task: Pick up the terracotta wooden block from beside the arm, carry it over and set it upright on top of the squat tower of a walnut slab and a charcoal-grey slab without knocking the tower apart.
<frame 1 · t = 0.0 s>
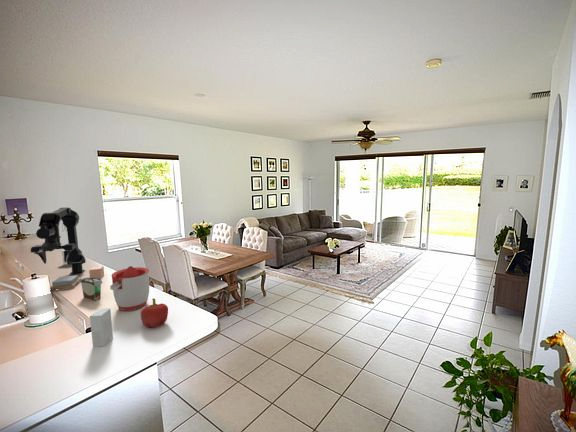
hand: (55, 262, 154), 15 cm above the counter, tool pointing down, fingers open, 9 cm apart
terracotta block: (97, 277, 174), on the counter
walnut slab: (66, 287, 159), on the counter, touching grey slab
citrus juicer: (131, 307, 133), on the counter
small box: (71, 264, 202), on the counter
vegetable: (155, 324, 117), on the counter
grey slab: (65, 282, 159), point 2 cm above the counter, touching walnut slab
skincare box: (102, 342, 104), on the counter
food container: (95, 297, 143), on the counter
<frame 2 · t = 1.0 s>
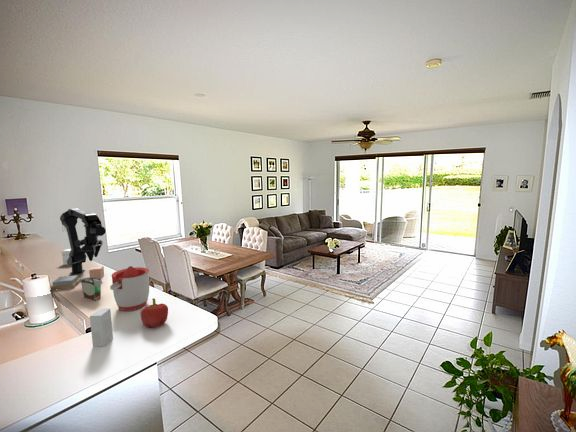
hand: (93, 258, 172), 12 cm above the counter, tool pointing down, fingers open, 9 cm apart
nothing on the counter moved.
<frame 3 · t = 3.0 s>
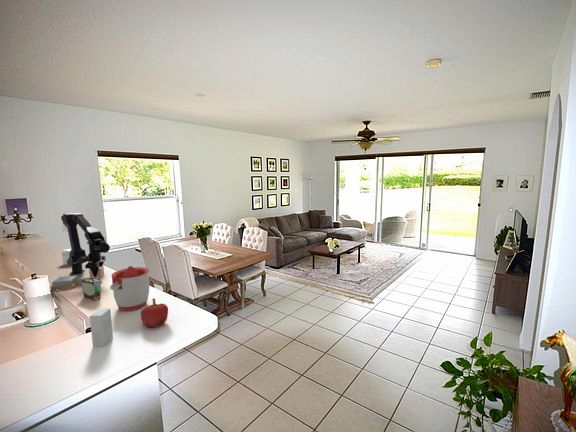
hand: (97, 275, 174), 1 cm above the counter, tool pointing down, fingers closed on terracotta block, 6 cm apart
terracotta block: (97, 276, 174), on the counter, touching gripper
everything else where it was.
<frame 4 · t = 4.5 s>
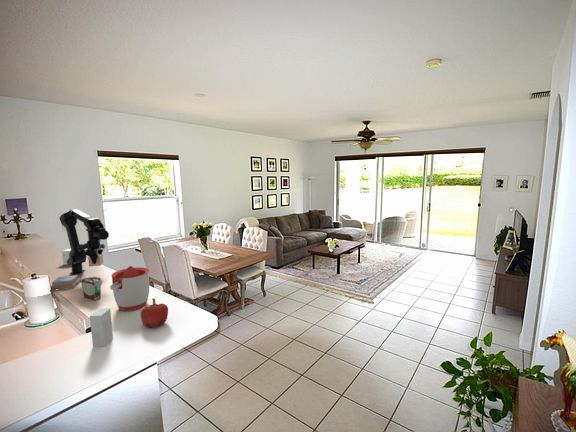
hand: (96, 262, 173), 9 cm above the counter, tool pointing down, fingers closed on terracotta block, 6 cm apart
terracotta block: (96, 264, 173), point 8 cm above the counter, touching gripper
everything else where it was.
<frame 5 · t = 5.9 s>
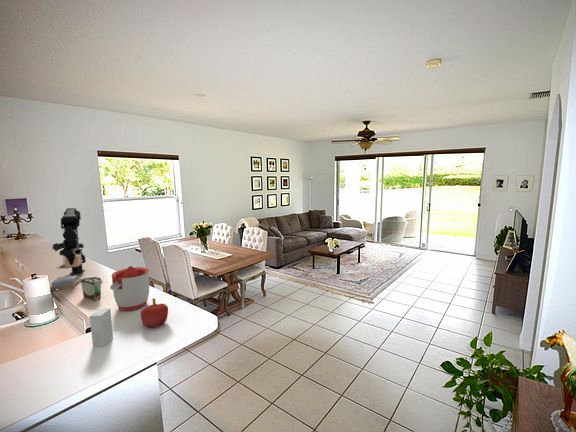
hand: (73, 263, 162), 12 cm above the counter, tool pointing down, fingers closed on terracotta block, 6 cm apart
terracotta block: (73, 265, 162), point 11 cm above the counter, touching gripper
everything else where it was.
when the fingers open (7 cm above the counter, at t = 8.4 s): terracotta block drops 2 cm, point 4 cm above the counter.
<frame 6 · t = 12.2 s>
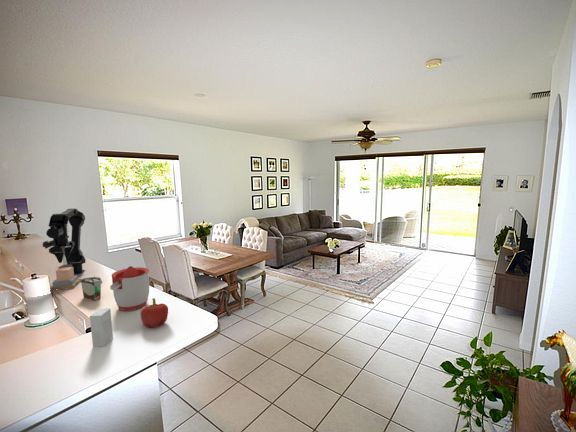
hand: (63, 260, 164), 13 cm above the counter, tool pointing down, fingers open, 9 cm apart
terracotta block: (65, 278, 158), point 4 cm above the counter
everything else where it was.
at the end: terracotta block 0.4 cm off-centre on the grey slab, point 2.6 cm above the grey slab's base; grey slab 0.2 cm off-centre on the walnut slab, point 2.5 cm above the walnut slab's base; terracotta block tilted 1° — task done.
